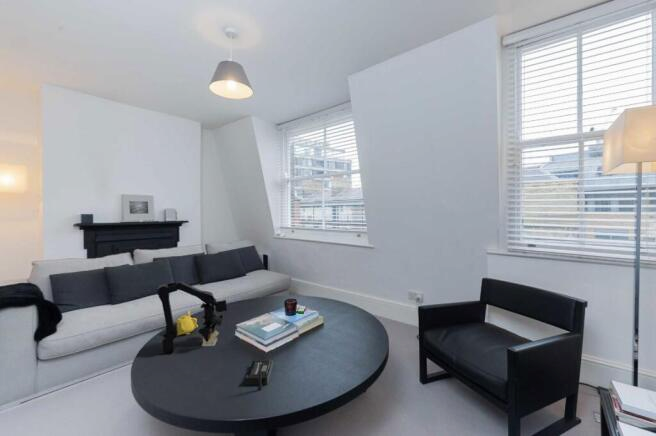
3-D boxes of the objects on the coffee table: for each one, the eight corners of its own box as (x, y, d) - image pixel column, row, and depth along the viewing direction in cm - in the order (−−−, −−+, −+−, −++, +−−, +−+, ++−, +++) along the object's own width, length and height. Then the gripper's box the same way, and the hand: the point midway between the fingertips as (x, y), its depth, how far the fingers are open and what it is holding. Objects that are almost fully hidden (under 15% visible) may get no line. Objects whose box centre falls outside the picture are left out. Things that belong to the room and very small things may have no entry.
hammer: (213, 346, 172) (213, 338, 172) (202, 346, 172) (201, 339, 172) (222, 333, 189) (221, 326, 189) (211, 333, 189) (211, 327, 189)
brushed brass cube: (213, 343, 173) (212, 333, 172) (203, 343, 172) (202, 334, 172) (216, 338, 179) (216, 329, 178) (206, 338, 178) (206, 329, 178)
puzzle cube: (306, 319, 211) (306, 306, 211) (304, 325, 201) (303, 311, 201) (293, 319, 212) (293, 305, 212) (290, 324, 202) (290, 310, 202)
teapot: (193, 338, 182) (192, 321, 182) (168, 340, 180) (168, 322, 179) (202, 325, 202) (201, 309, 201) (180, 327, 200) (179, 311, 199)
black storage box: (249, 367, 150) (249, 335, 149) (276, 366, 151) (275, 334, 150) (239, 391, 130) (238, 355, 130) (269, 391, 131) (269, 354, 130)
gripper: (217, 319, 166) (218, 345, 167) (226, 307, 185) (227, 331, 185) (198, 319, 165) (198, 345, 166) (209, 308, 184) (209, 331, 185)
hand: (209, 338), depth 176 cm, fingers open, 9 cm apart
